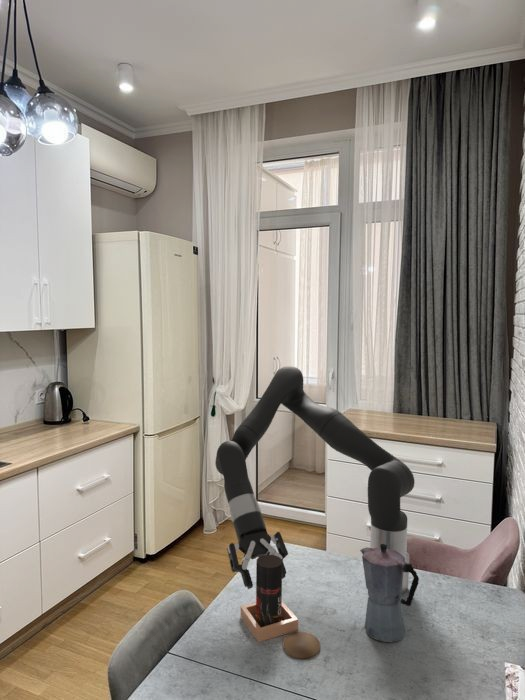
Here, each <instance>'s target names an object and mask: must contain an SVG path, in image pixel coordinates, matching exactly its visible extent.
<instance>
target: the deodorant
mask: <svg viewBox="0 0 525 700" xmlns="http://www.w3.org/2000/svg"><path fill="white" fill-rule="evenodd" d="M255 567H256V571H255V573H256V574H255V575H256V579H255V580H256V582H255V586H256V587H255V594H256V595H255V598H256V600H255V602H256V615H255V621H256V622H257V623H258V625H259V626H260V627H265V626H268V625H271V624H274V623H278V622H281V621H282V616H281V613H282V601H283V600H282V598H283V595H282V594H283V593H282V591H283V579H282V559H281V558H280V557H278V556H275V555H263V556H260V557H257V558H256V565H255Z"/></svg>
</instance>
